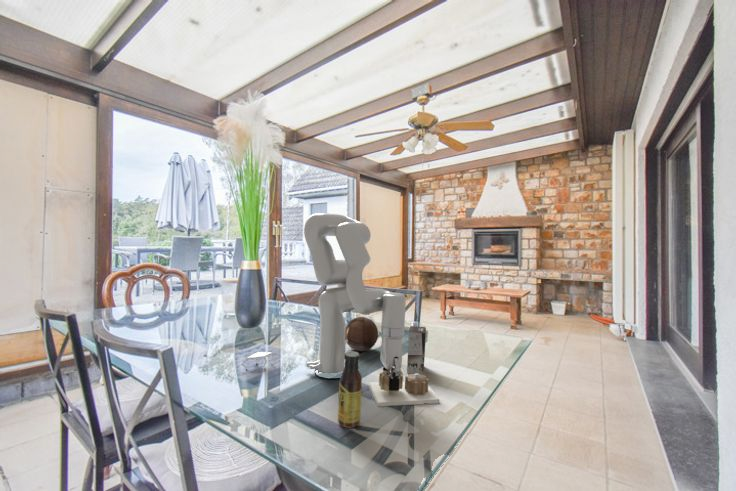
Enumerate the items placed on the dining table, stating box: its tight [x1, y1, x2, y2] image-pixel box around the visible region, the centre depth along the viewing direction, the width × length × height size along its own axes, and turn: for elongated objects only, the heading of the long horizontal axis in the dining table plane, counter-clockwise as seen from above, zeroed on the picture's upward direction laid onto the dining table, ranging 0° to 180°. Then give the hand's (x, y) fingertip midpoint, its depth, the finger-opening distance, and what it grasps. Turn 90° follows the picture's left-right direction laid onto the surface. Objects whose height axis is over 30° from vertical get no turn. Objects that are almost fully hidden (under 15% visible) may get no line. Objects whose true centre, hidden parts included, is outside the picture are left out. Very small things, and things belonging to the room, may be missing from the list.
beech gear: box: [378, 370, 404, 392], centre depth 112 cm, size 7×7×4 cm
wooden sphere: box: [345, 316, 379, 352], centre depth 153 cm, size 15×15×15 cm
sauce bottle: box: [337, 350, 363, 429], centre depth 95 cm, size 7×6×20 cm
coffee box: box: [406, 325, 427, 376], centre depth 134 cm, size 9×6×16 cm
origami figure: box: [241, 351, 277, 369], centre depth 130 cm, size 12×8×5 cm
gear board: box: [368, 373, 440, 407], centre depth 114 cm, size 20×14×7 cm
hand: (390, 384), depth 112 cm, fingers closed on beech gear, 7 cm apart
